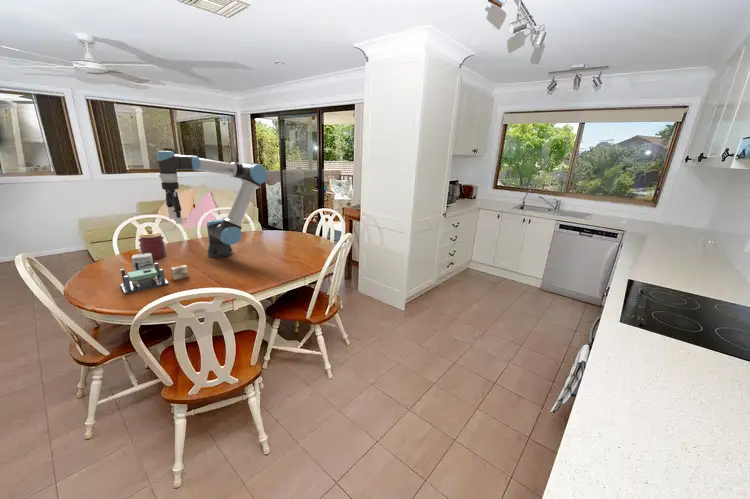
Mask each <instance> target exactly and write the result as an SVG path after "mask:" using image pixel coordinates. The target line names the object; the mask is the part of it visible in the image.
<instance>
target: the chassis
mask: <svg viewBox="0 0 750 499" xmlns="http://www.w3.org/2000/svg"><path fill="white" fill-rule="evenodd" d="M153 264H154V269H155V270H156V271H157V273H158V276H155V277H150V278H145V279H140V280H135V281H130V279H129V277H128V275H126V274H127V273H126V270H125V268H121V269H120V274H121V277H122V278H121V279H122V283H119V284H120V288H121V289H122V291H123V293H124V295H128V294H133V293H137V292H143V291H145V290H146V291H147V290H151V289H156V288H161V287H165V286H169V285H170V284H169V281H168V280H167V279H166V278H165V272H164V269H163V268H160V266H159V263H158V262H155V263H154V262H153Z"/></svg>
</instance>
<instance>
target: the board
mask: <svg viewBox="0 0 750 499" xmlns="http://www.w3.org/2000/svg"><path fill="white" fill-rule="evenodd" d="M127 276H128V277H129V282H131V281H135V280H141V279H146V278H151V277H155V276H158V273H157V271H156V270H155V267H154V268H149V269H144V270H138V271H134V270H133V271H129V272H127Z"/></svg>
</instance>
